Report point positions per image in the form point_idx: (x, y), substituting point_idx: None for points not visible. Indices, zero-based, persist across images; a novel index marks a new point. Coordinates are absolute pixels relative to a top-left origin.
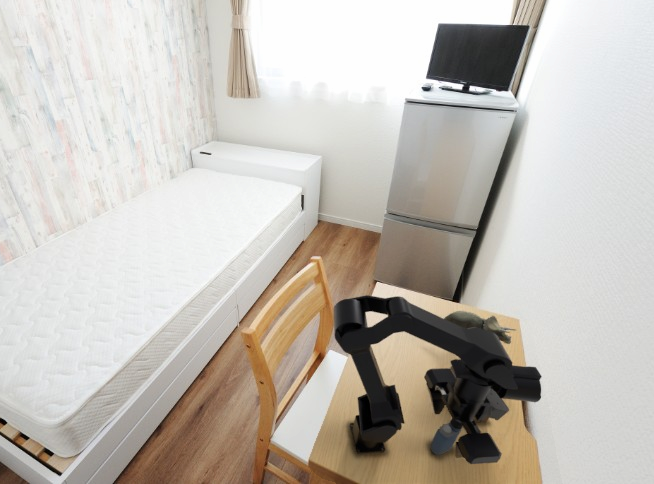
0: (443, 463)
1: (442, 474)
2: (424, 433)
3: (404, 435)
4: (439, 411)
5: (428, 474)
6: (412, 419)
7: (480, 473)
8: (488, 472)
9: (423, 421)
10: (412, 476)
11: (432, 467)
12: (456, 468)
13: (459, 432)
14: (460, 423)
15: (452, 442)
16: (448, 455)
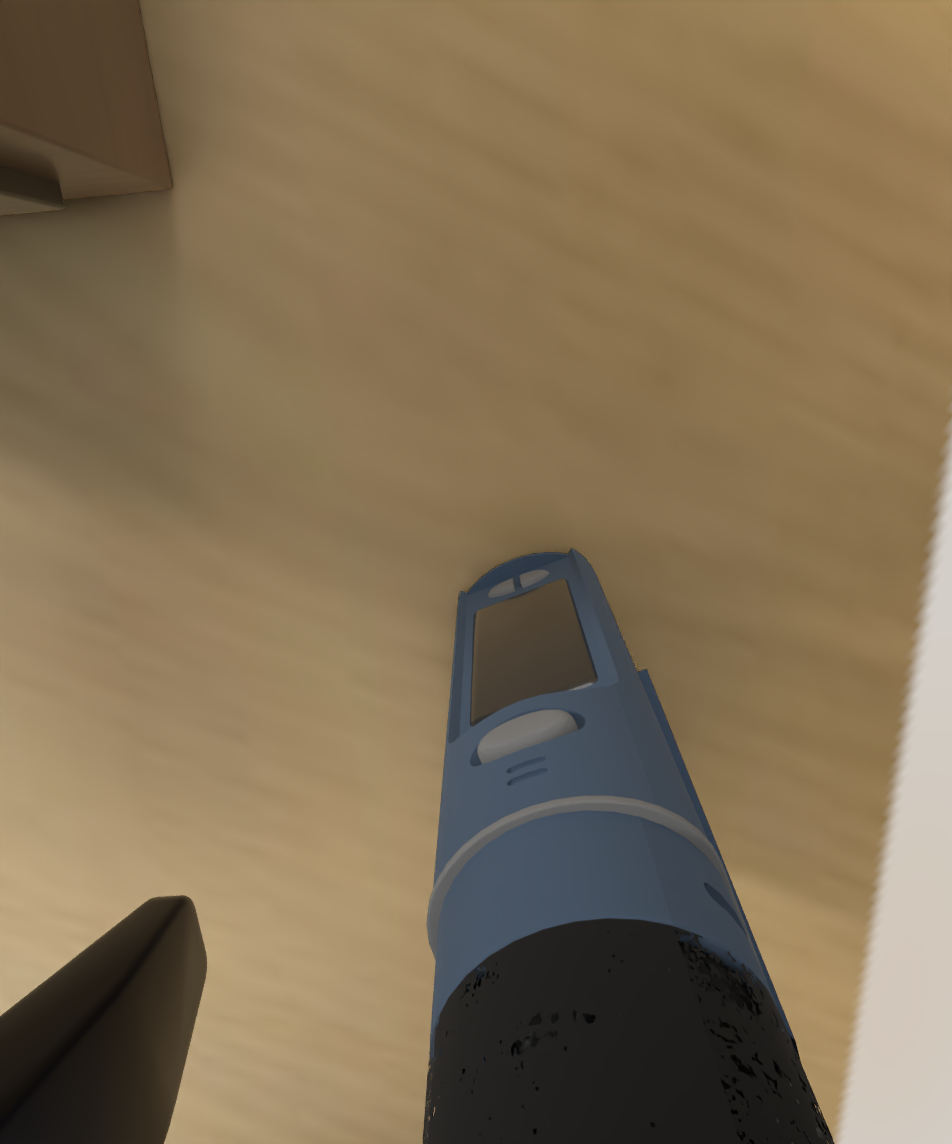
0: (750, 712)
1: (866, 767)
2: (385, 802)
3: (424, 1010)
4: (157, 1012)
5: (846, 905)
6: (214, 880)
7: (927, 268)
8: (934, 125)
9: (223, 764)
10: (843, 1048)
11: (781, 844)
12: (823, 579)
13: (704, 835)
14: (582, 929)
15: (672, 734)
16: (660, 615)
